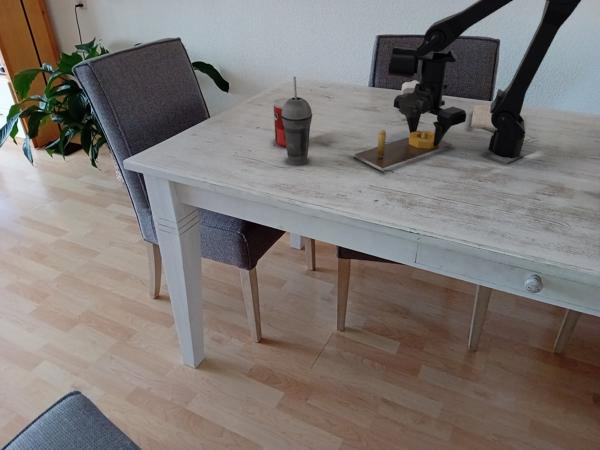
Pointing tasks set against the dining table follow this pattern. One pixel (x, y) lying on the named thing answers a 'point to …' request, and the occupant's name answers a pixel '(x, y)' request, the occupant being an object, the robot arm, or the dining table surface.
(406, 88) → the grey block
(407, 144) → the peg rack
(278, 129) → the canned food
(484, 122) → the washcloth
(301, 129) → the beverage cup
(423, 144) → the ring
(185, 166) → the dining table surface
